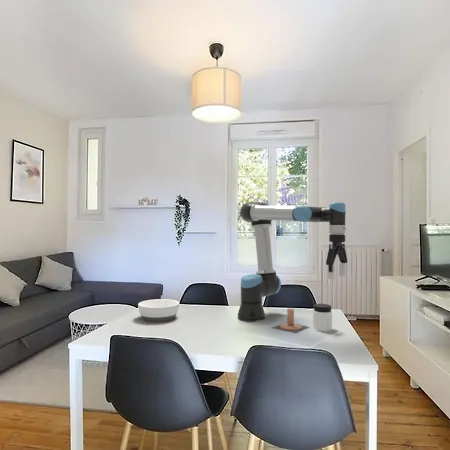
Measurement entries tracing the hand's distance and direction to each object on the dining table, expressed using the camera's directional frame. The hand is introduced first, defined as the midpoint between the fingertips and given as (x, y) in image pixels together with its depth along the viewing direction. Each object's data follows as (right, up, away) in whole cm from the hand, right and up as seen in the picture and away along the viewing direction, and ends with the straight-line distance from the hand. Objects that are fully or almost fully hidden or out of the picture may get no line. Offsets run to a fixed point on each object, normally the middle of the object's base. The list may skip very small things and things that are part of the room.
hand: (336, 277), depth 177 cm
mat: (-23, -25, +1) cm, 34 cm away
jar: (-7, -26, -2) cm, 27 cm away
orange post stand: (-23, -25, +1) cm, 34 cm away
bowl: (-91, -26, +22) cm, 98 cm away
